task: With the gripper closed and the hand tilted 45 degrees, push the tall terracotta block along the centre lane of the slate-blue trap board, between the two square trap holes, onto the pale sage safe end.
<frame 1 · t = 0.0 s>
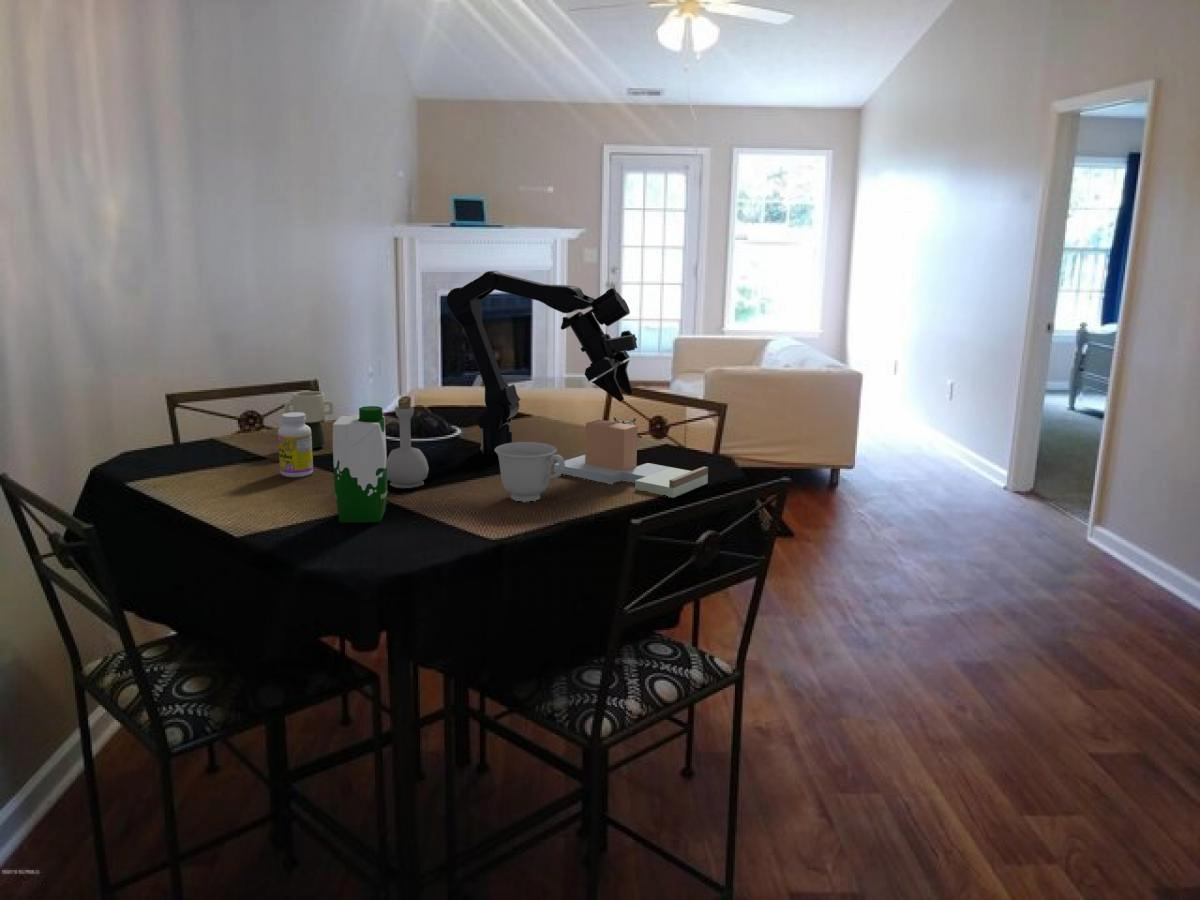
hand: (626, 397, 209), 15 cm above the table, tool tilted 35°, fingers open, 9 cm apart
milk carton: (362, 517, 168), on the table
character mug: (311, 448, 219), on the table
trap board: (629, 478, 198), on the table
teacup: (531, 500, 181), on the table
supplement bottle: (297, 474, 196), on the table
block: (610, 465, 201), point 2 cm above the table, touching trap board
potion bottle: (406, 484, 190), on the table
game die: (623, 452, 222), on the table
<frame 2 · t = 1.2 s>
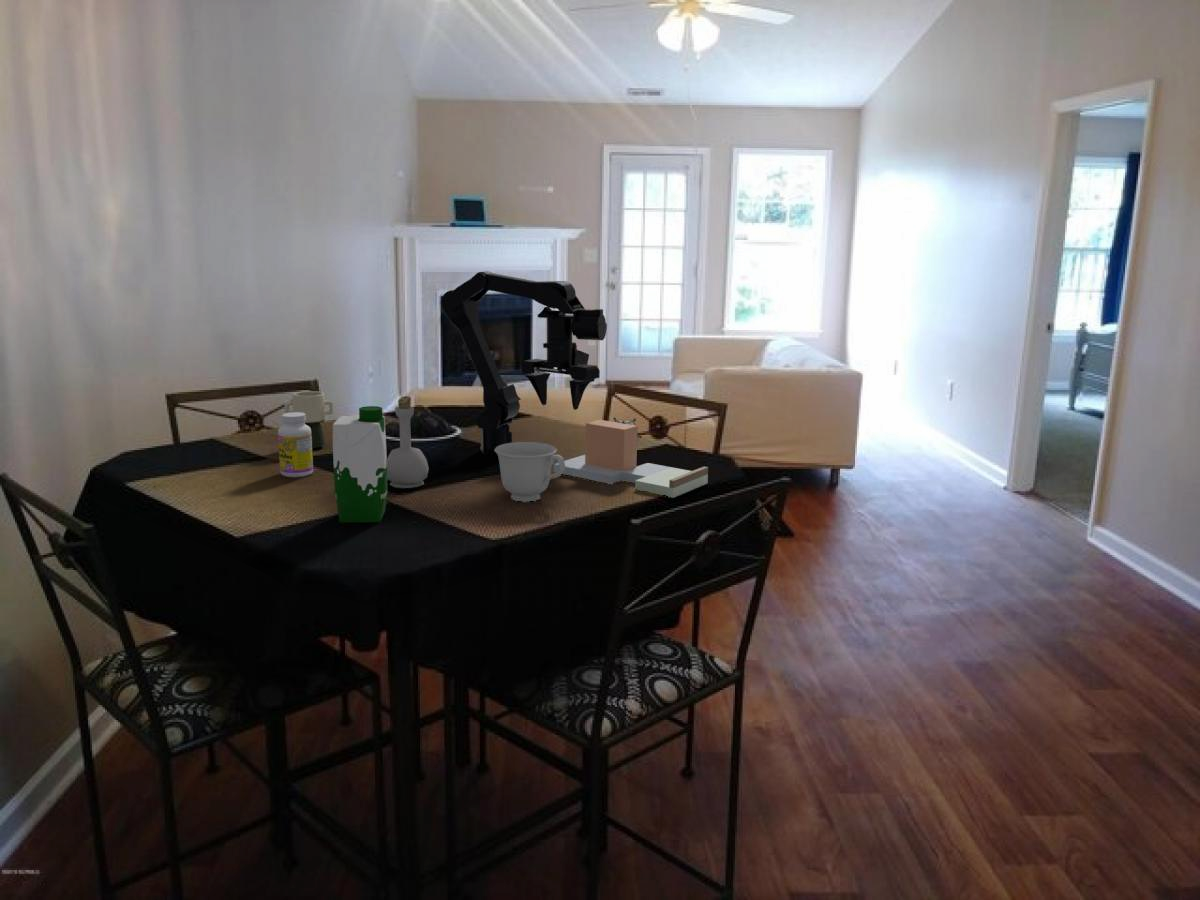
hand: (559, 407, 211), 12 cm above the table, tool pointing down, fingers open, 9 cm apart
nothing on the table moved.
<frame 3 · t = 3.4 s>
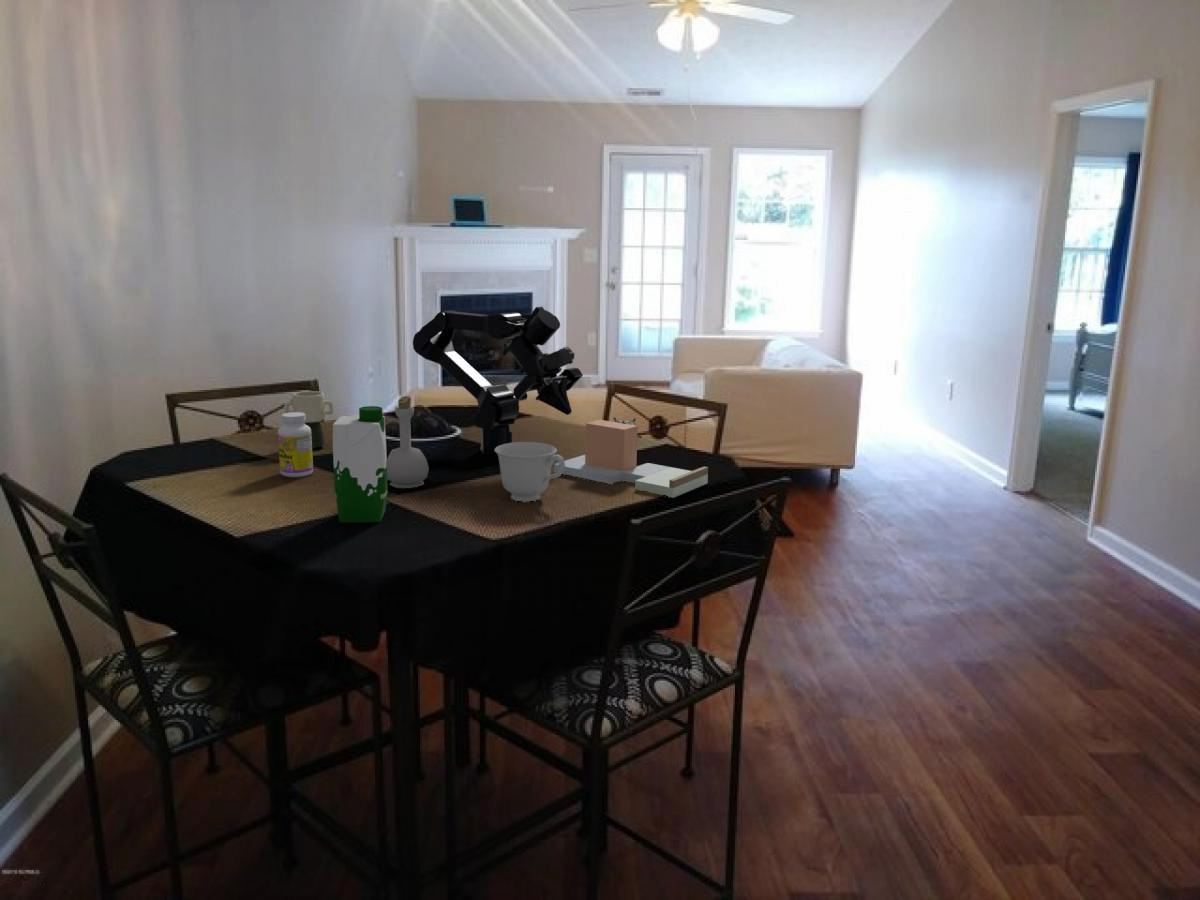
hand: (569, 413, 205), 12 cm above the table, tool tilted 45°, fingers closed
nothing on the table moved.
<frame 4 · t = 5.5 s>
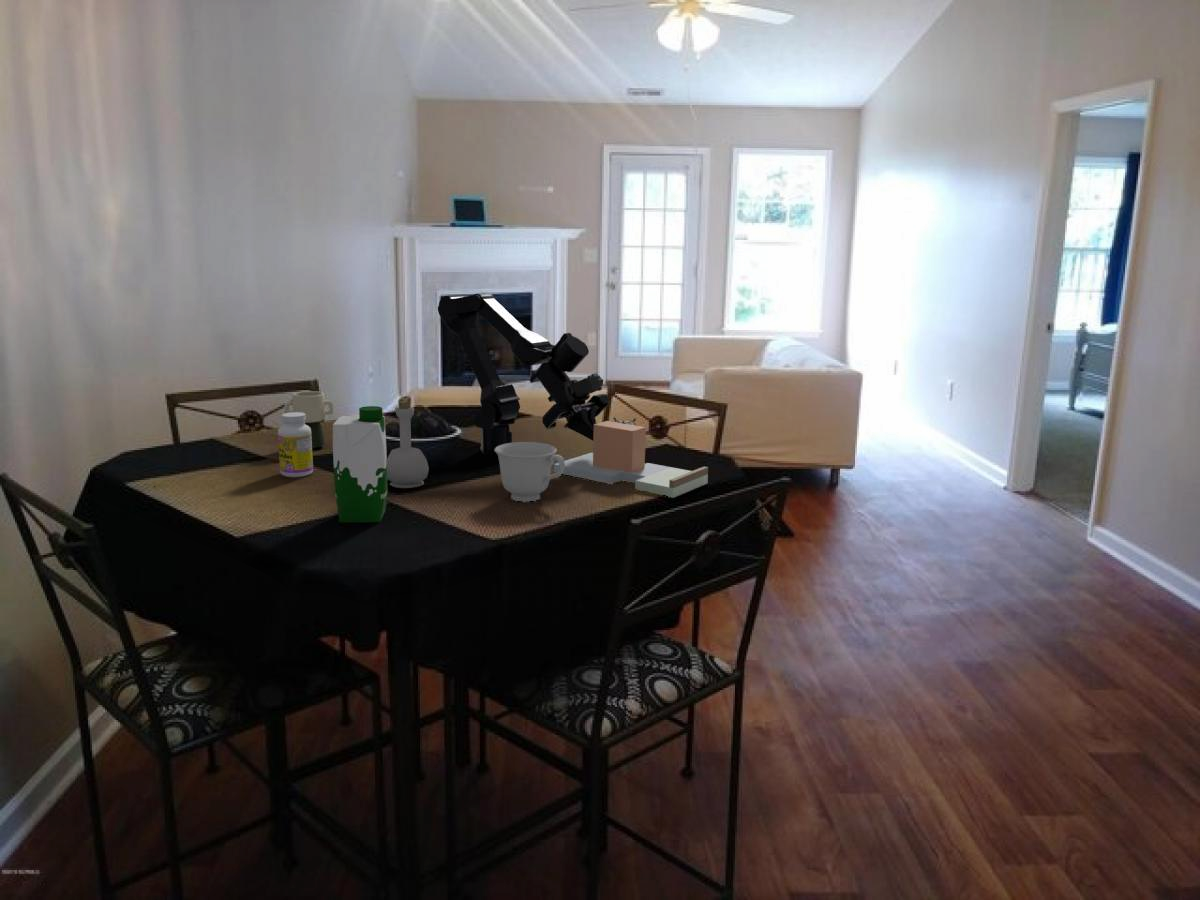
hand: (599, 441, 201), 7 cm above the table, tool tilted 45°, fingers closed
block: (618, 466, 199), point 2 cm above the table, touching trap board
everything else where it was.
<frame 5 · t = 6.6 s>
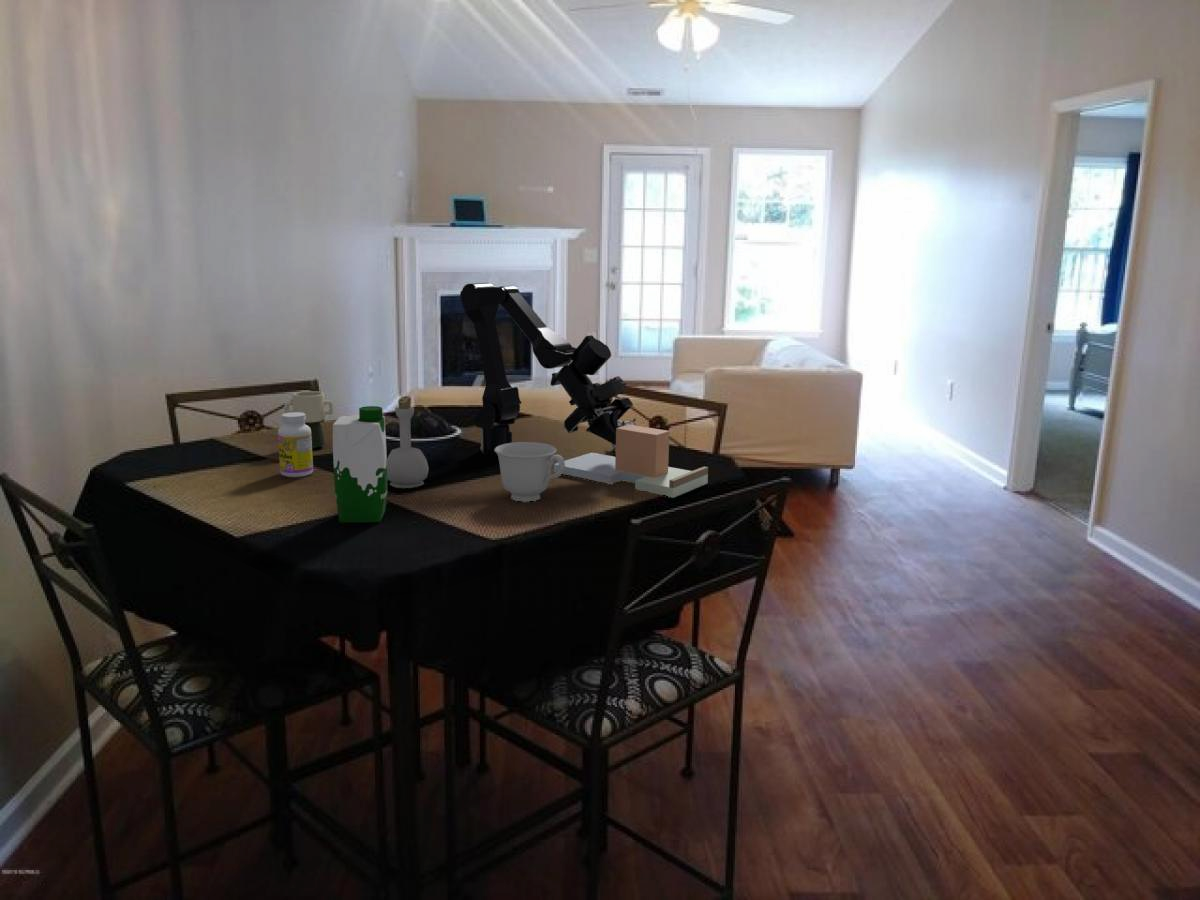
hand: (621, 445, 198), 7 cm above the table, tool tilted 45°, fingers closed, pressing on block
block: (641, 471, 196), point 2 cm above the table, touching gripper
everything else where it was.
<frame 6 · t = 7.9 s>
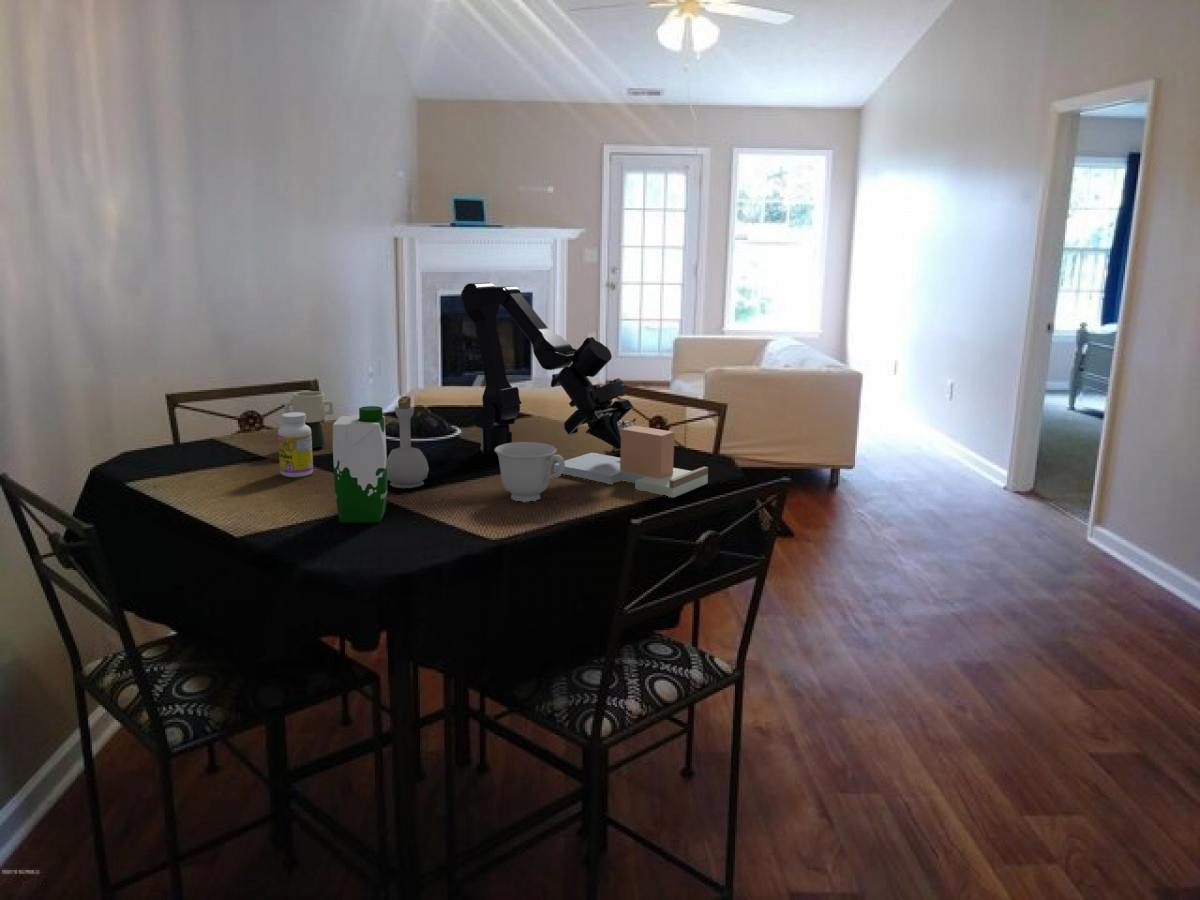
hand: (620, 447, 198), 6 cm above the table, tool tilted 45°, fingers closed
block: (646, 472, 195), point 2 cm above the table, touching trap board
everything else where it was.
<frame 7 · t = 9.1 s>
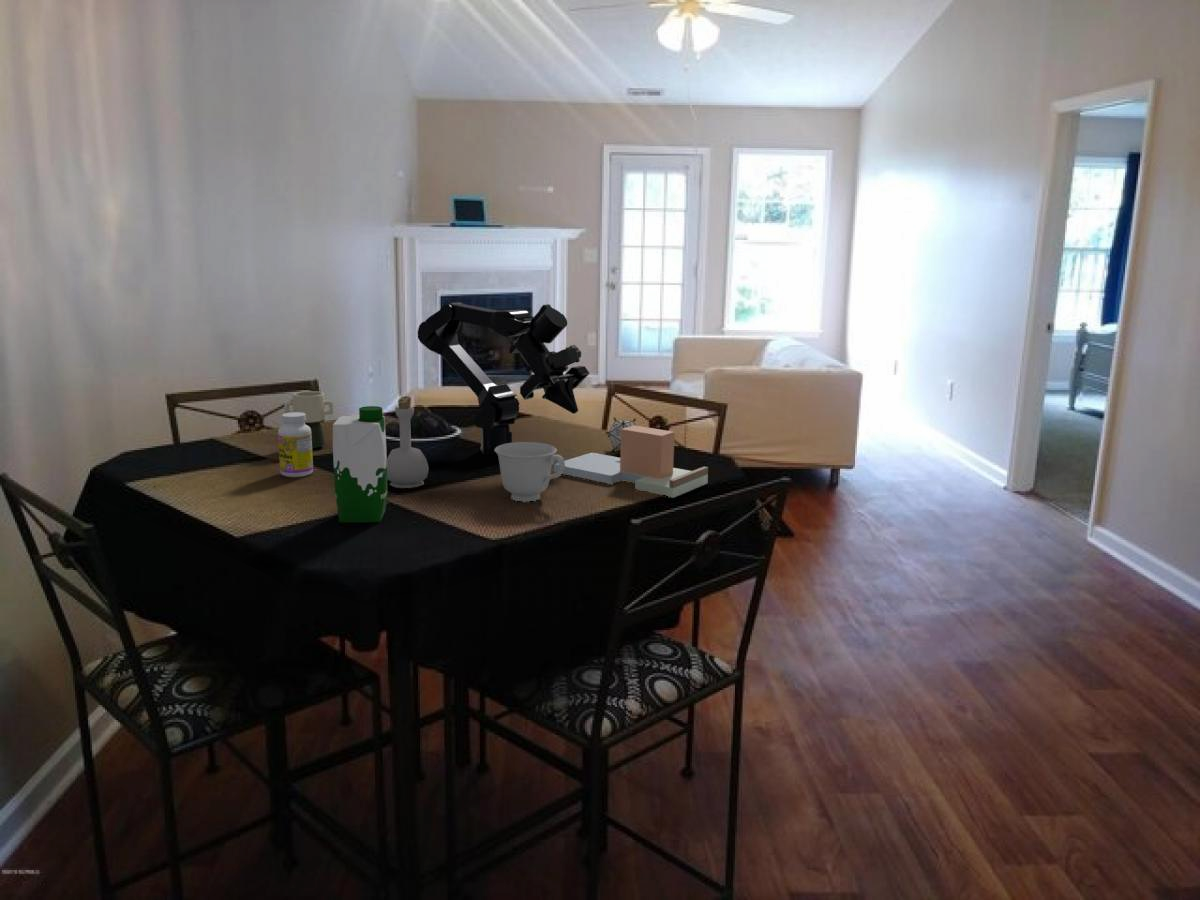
hand: (576, 412, 204), 12 cm above the table, tool tilted 45°, fingers closed
nothing on the table moved.
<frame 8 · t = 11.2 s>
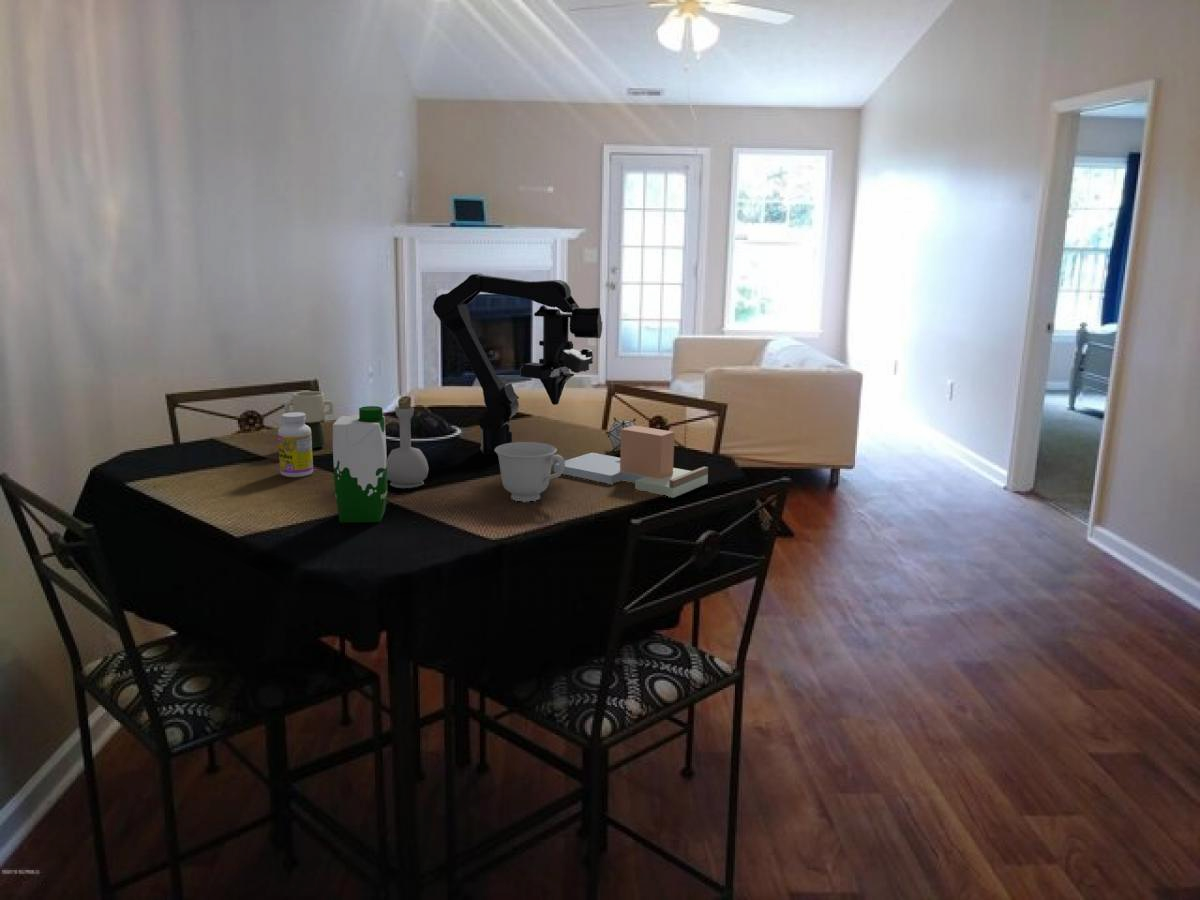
hand: (555, 404, 214), 12 cm above the table, tool pointing down, fingers closed
nothing on the table moved.
at the end: block inside the target area (0.8 cm from its centre), point 2.0 cm above the table; block tilted 0°; block touching trap board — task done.
